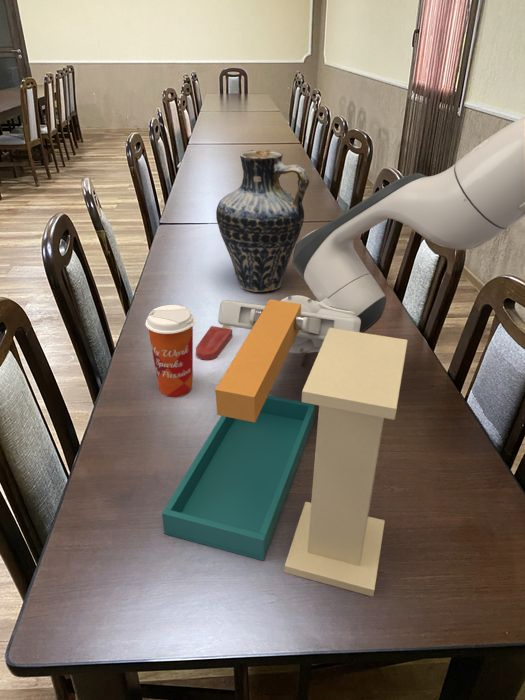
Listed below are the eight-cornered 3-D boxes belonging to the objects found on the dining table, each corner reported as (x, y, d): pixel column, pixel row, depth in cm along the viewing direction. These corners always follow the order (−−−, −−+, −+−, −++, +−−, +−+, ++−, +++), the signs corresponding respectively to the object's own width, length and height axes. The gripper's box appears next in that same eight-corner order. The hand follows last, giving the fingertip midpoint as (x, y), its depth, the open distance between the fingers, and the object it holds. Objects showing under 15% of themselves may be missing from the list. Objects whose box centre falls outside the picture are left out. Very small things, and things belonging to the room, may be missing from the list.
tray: (237, 407, 87) (237, 389, 85) (313, 422, 84) (315, 404, 82) (164, 534, 65) (161, 513, 63) (263, 561, 62) (263, 540, 60)
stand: (306, 502, 70) (319, 326, 56) (384, 520, 67) (417, 341, 54) (281, 579, 60) (290, 388, 46) (372, 605, 57) (409, 411, 44)
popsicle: (240, 317, 110) (214, 354, 98) (240, 324, 111) (214, 362, 99) (219, 314, 111) (191, 351, 99) (220, 321, 112) (191, 358, 100)
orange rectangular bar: (269, 321, 74) (269, 299, 72) (300, 326, 73) (301, 303, 71) (216, 414, 59) (214, 389, 57) (255, 422, 58) (254, 397, 56)
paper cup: (146, 398, 89) (137, 323, 81) (160, 373, 95) (153, 301, 88) (193, 403, 88) (188, 327, 80) (203, 377, 94) (200, 305, 87)
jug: (206, 294, 123) (199, 158, 108) (234, 264, 139) (232, 142, 124) (293, 307, 118) (300, 166, 102) (312, 274, 134) (320, 148, 118)
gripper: (237, 295, 85) (206, 284, 72) (366, 314, 80) (359, 306, 67) (231, 334, 85) (199, 331, 72) (359, 355, 80) (351, 356, 67)
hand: (277, 319), depth 69 cm, fingers open, 5 cm apart
